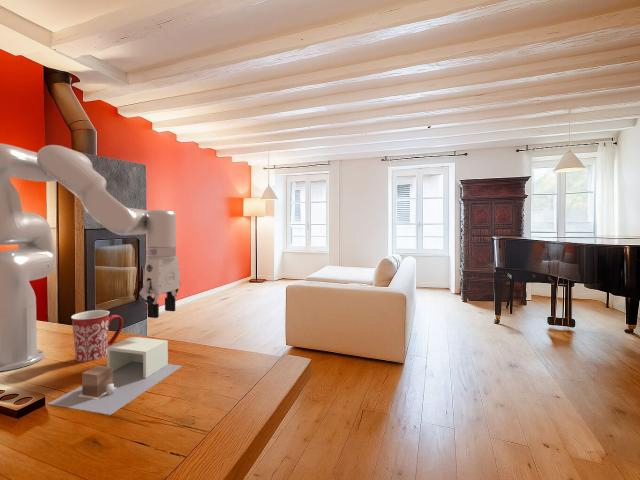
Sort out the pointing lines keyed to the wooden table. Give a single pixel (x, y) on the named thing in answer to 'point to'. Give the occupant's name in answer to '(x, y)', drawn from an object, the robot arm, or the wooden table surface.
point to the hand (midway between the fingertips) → (161, 313)
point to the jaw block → (96, 380)
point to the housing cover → (139, 354)
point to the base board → (116, 389)
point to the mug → (93, 334)
